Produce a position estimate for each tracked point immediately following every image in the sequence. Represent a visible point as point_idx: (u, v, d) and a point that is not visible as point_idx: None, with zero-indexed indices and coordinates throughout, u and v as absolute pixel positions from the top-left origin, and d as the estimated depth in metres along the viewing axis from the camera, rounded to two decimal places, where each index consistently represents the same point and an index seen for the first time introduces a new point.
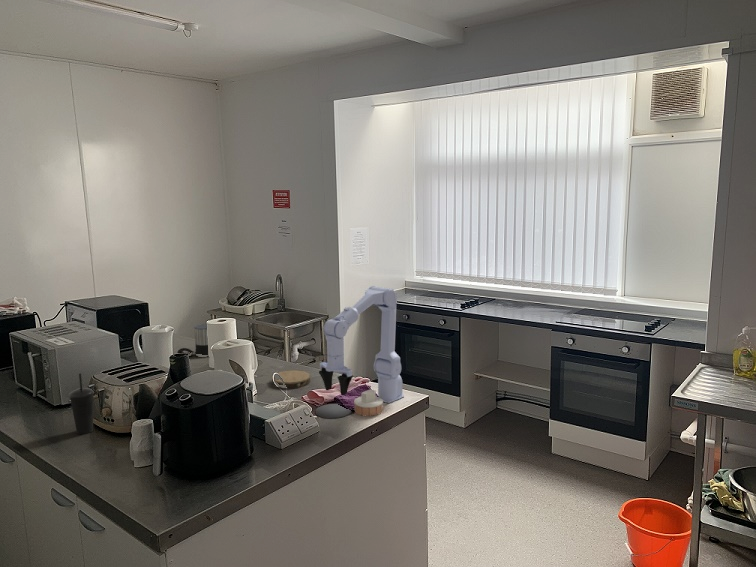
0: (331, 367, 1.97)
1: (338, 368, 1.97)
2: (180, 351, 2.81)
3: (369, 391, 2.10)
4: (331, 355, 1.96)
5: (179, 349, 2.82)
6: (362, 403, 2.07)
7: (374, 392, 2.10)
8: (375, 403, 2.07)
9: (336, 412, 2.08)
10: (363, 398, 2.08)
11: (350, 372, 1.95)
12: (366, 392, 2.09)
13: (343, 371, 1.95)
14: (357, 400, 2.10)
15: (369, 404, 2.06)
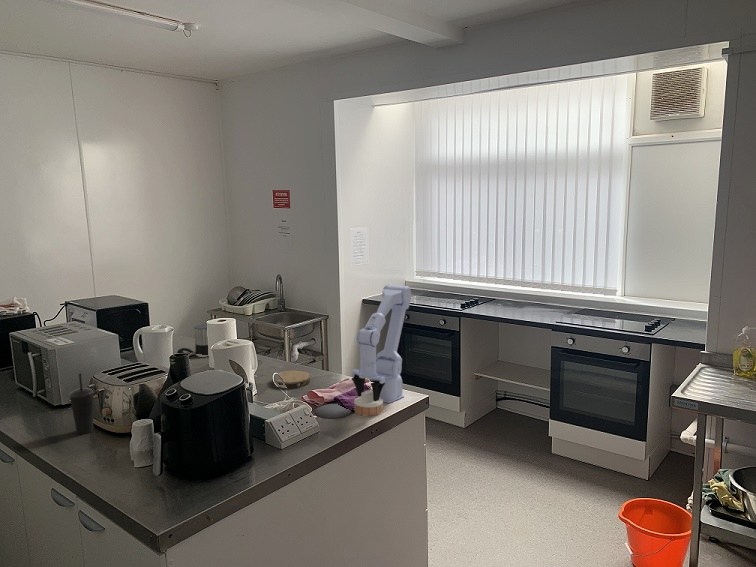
0: (364, 374, 2.06)
1: (371, 375, 2.06)
2: (180, 351, 2.81)
3: (369, 391, 2.10)
4: (366, 363, 2.05)
5: (179, 349, 2.82)
6: (362, 403, 2.07)
7: None
8: (375, 403, 2.07)
9: (336, 412, 2.08)
10: (363, 398, 2.08)
11: (383, 379, 2.04)
12: (366, 392, 2.09)
13: (376, 378, 2.04)
14: (357, 400, 2.10)
15: (369, 404, 2.06)
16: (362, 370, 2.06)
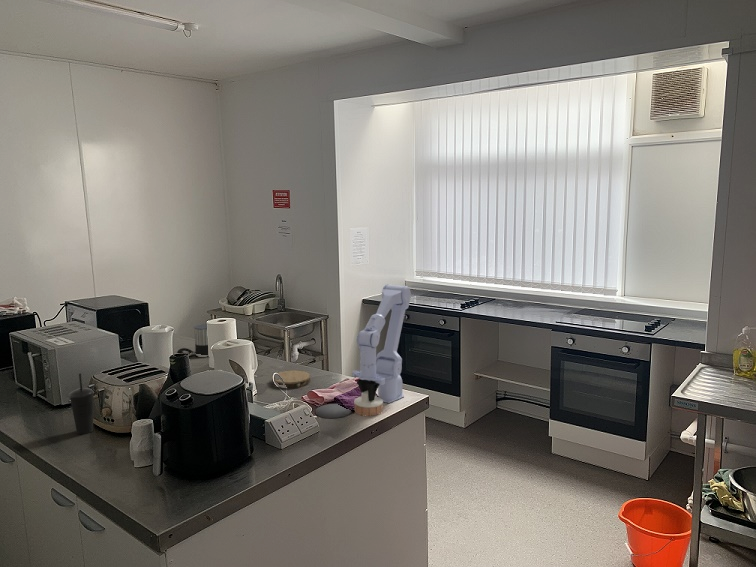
0: (364, 376, 2.06)
1: (371, 377, 2.06)
2: (180, 351, 2.81)
3: None
4: (366, 364, 2.05)
5: (179, 349, 2.82)
6: (362, 403, 2.07)
7: None
8: (375, 403, 2.07)
9: (336, 412, 2.08)
10: (363, 398, 2.08)
11: (383, 380, 2.04)
12: (366, 392, 2.09)
13: (376, 379, 2.04)
14: (357, 400, 2.10)
15: (369, 404, 2.06)
16: (362, 371, 2.06)
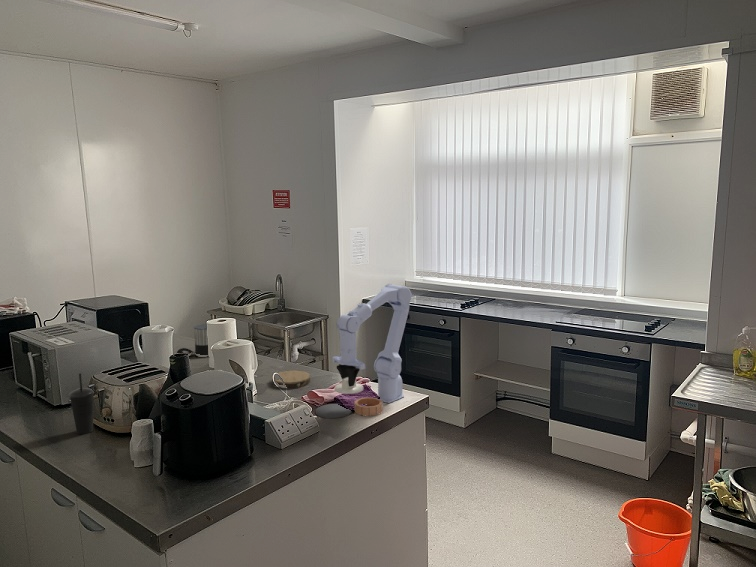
0: (344, 361, 2.05)
1: (351, 362, 2.05)
2: (180, 351, 2.80)
3: None
4: (343, 349, 2.04)
5: (179, 349, 2.82)
6: (342, 390, 2.06)
7: None
8: (355, 390, 2.06)
9: (336, 412, 2.08)
10: (344, 385, 2.07)
11: (363, 365, 2.02)
12: (346, 379, 2.08)
13: (356, 364, 2.03)
14: (337, 387, 2.09)
15: (349, 390, 2.05)
16: (342, 356, 2.05)
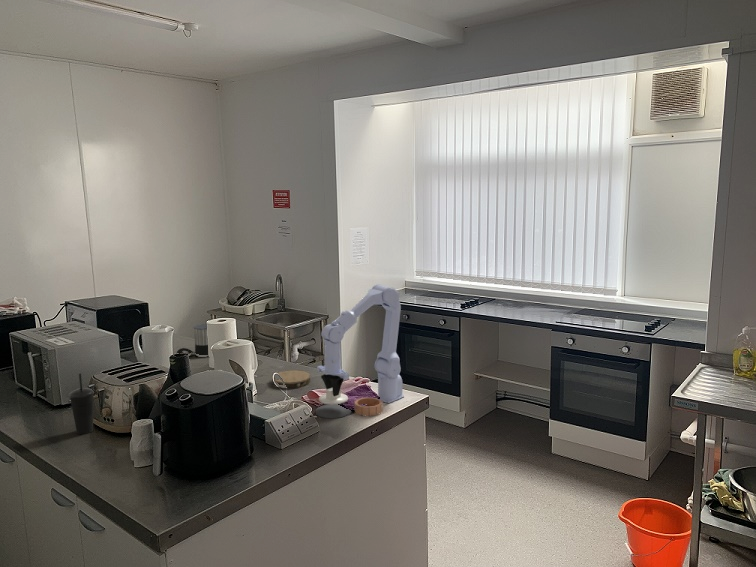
0: (328, 371, 2.05)
1: (335, 371, 2.05)
2: (180, 351, 2.80)
3: None
4: (327, 359, 2.05)
5: (179, 349, 2.82)
6: (326, 400, 2.06)
7: None
8: (340, 400, 2.06)
9: (336, 412, 2.08)
10: (328, 395, 2.07)
11: (347, 375, 2.03)
12: (331, 389, 2.08)
13: (340, 374, 2.03)
14: (322, 397, 2.10)
15: (333, 401, 2.05)
16: (326, 366, 2.05)
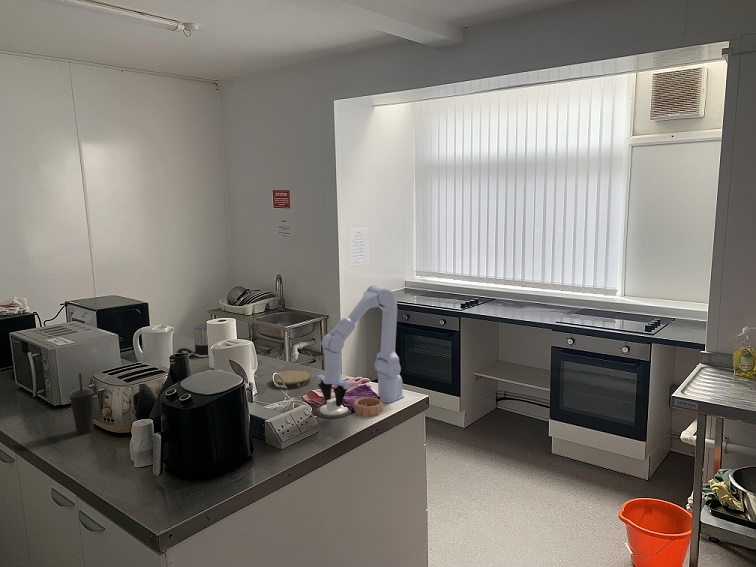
0: (328, 380, 2.06)
1: (335, 381, 2.05)
2: (179, 351, 2.80)
3: (334, 399, 2.10)
4: (327, 368, 2.05)
5: (179, 349, 2.82)
6: (327, 411, 2.07)
7: None
8: (340, 411, 2.07)
9: None
10: (328, 406, 2.08)
11: (347, 385, 2.03)
12: (331, 400, 2.09)
13: (340, 384, 2.04)
14: (322, 408, 2.10)
15: (334, 412, 2.06)
16: (326, 376, 2.06)
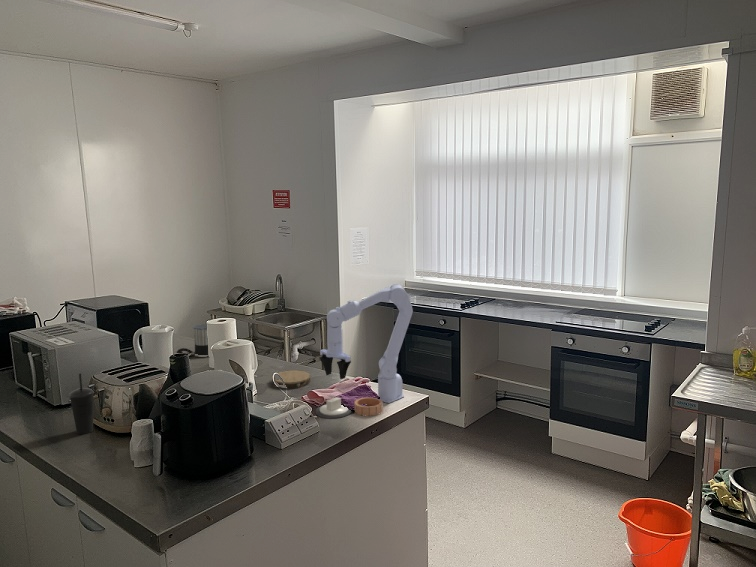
0: (330, 354, 2.16)
1: (337, 354, 2.16)
2: (179, 351, 2.80)
3: (334, 399, 2.10)
4: (327, 341, 2.17)
5: (179, 349, 2.82)
6: (327, 411, 2.07)
7: (339, 400, 2.10)
8: (340, 411, 2.07)
9: None
10: (328, 406, 2.08)
11: (348, 358, 2.14)
12: (331, 400, 2.09)
13: (342, 357, 2.14)
14: (322, 408, 2.10)
15: (334, 412, 2.06)
16: (329, 349, 2.16)
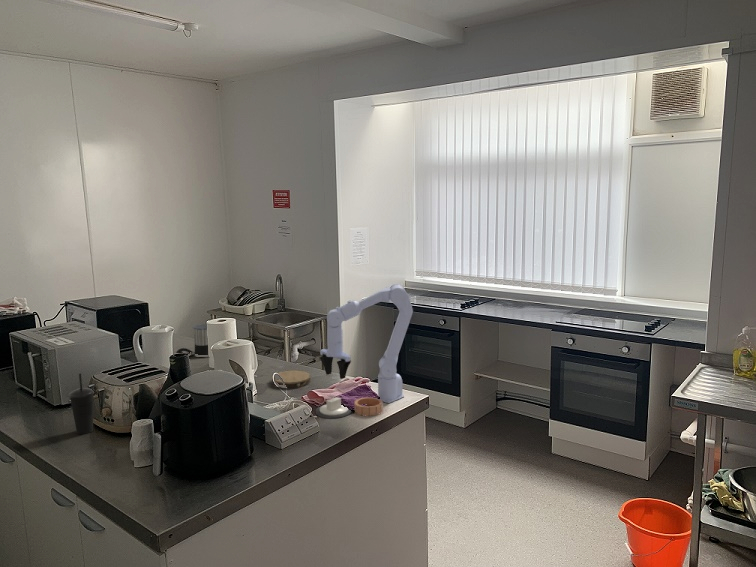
0: (330, 353, 2.16)
1: (337, 354, 2.16)
2: (179, 351, 2.80)
3: (334, 399, 2.10)
4: (327, 341, 2.17)
5: (179, 349, 2.82)
6: (327, 411, 2.07)
7: (339, 400, 2.10)
8: (340, 411, 2.07)
9: None
10: (328, 406, 2.08)
11: (348, 357, 2.14)
12: (331, 400, 2.09)
13: (342, 356, 2.15)
14: (322, 408, 2.10)
15: (334, 412, 2.06)
16: (329, 349, 2.17)
